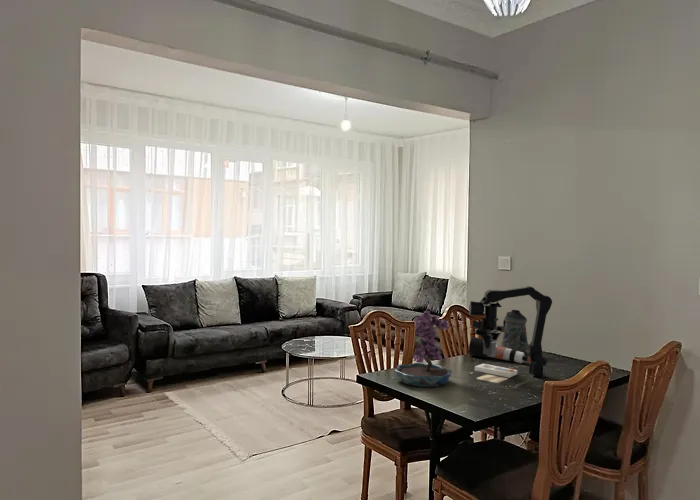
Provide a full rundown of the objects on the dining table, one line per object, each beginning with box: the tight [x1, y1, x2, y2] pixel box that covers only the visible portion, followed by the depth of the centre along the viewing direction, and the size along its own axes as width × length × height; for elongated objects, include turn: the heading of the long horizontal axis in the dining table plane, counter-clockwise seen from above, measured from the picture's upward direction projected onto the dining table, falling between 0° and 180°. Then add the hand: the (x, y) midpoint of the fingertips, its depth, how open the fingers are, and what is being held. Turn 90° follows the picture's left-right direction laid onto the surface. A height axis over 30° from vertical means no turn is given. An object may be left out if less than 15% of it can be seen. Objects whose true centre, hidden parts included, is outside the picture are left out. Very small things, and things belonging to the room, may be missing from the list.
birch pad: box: [475, 373, 509, 386], centre depth 249 cm, size 11×11×1 cm
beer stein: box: [500, 309, 529, 357], centre depth 310 cm, size 16×19×25 cm
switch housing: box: [474, 363, 518, 379], centre depth 261 cm, size 18×9×4 cm, turn 49°
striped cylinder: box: [468, 336, 531, 364], centre depth 292 cm, size 10×34×10 cm, turn 58°
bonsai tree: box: [393, 310, 453, 388], centre depth 246 cm, size 35×27×32 cm
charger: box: [483, 339, 497, 355], centre depth 260 cm, size 4×4×7 cm
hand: (489, 347), depth 260 cm, fingers closed on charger, 4 cm apart
